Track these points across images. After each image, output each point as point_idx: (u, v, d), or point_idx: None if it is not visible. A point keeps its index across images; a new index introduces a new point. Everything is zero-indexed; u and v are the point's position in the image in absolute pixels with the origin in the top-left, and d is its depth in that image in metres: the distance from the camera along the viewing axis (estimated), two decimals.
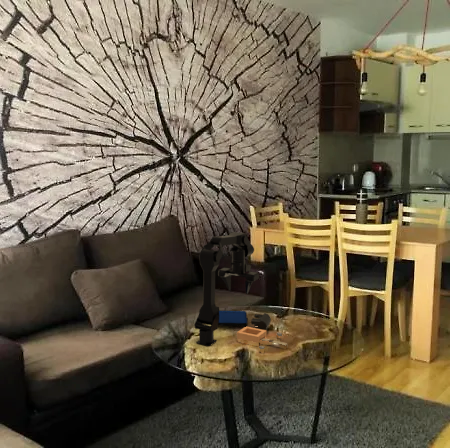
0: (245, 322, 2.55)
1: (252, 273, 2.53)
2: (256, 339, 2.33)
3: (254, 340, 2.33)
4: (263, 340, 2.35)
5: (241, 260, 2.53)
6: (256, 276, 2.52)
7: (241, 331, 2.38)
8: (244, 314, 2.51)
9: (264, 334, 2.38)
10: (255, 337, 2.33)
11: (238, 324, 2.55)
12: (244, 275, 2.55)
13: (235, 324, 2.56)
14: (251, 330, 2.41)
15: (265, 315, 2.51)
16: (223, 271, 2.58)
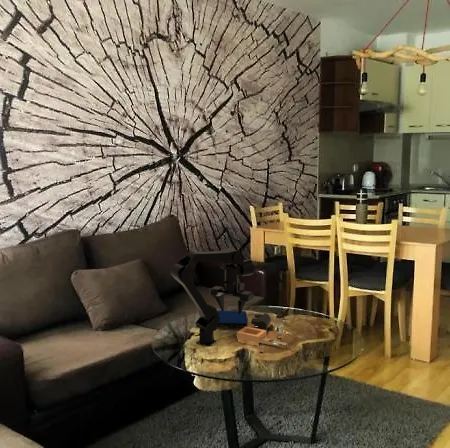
0: (245, 322, 2.54)
1: (246, 293, 2.36)
2: (256, 339, 2.33)
3: (254, 340, 2.33)
4: (263, 340, 2.35)
5: (234, 279, 2.37)
6: (250, 296, 2.36)
7: (241, 331, 2.38)
8: (244, 314, 2.51)
9: (264, 334, 2.38)
10: (255, 337, 2.33)
11: (238, 324, 2.55)
12: (237, 295, 2.38)
13: (235, 324, 2.55)
14: (251, 330, 2.41)
15: (265, 315, 2.51)
16: (215, 290, 2.41)
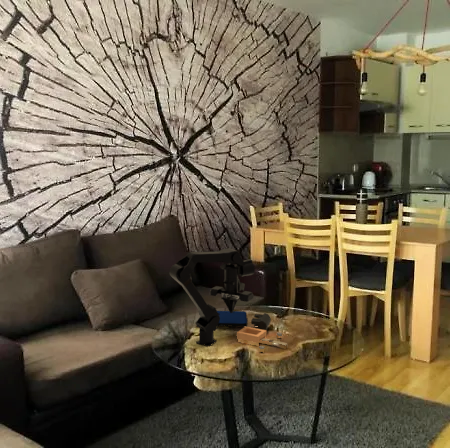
0: (245, 322, 2.54)
1: (246, 293, 2.36)
2: (256, 339, 2.33)
3: (254, 340, 2.33)
4: (263, 340, 2.35)
5: (234, 279, 2.36)
6: (250, 296, 2.35)
7: (241, 331, 2.38)
8: (244, 314, 2.50)
9: (264, 334, 2.38)
10: (255, 337, 2.33)
11: (238, 324, 2.55)
12: None
13: (235, 324, 2.55)
14: (251, 330, 2.41)
15: (265, 315, 2.51)
16: (215, 290, 2.41)
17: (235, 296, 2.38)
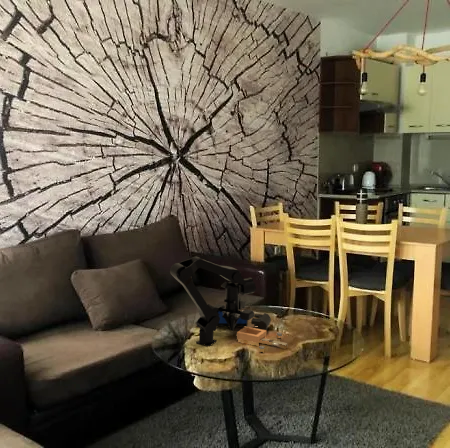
0: (245, 322, 2.54)
1: (247, 311, 2.37)
2: (256, 339, 2.33)
3: (254, 340, 2.33)
4: (263, 340, 2.35)
5: (235, 297, 2.38)
6: (251, 314, 2.37)
7: (241, 331, 2.38)
8: None
9: (264, 334, 2.38)
10: (255, 337, 2.33)
11: (238, 324, 2.55)
12: (238, 313, 2.39)
13: None
14: (251, 330, 2.41)
15: (265, 315, 2.51)
16: (216, 308, 2.42)
17: (236, 314, 2.39)
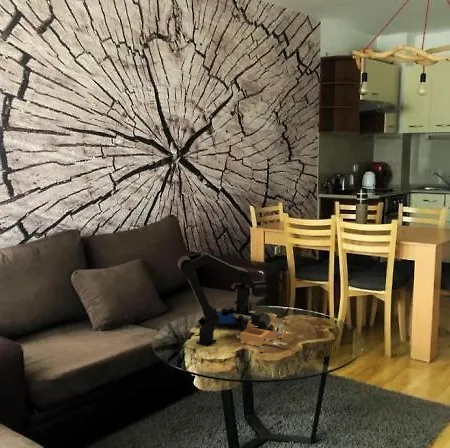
0: None
1: (258, 313, 2.35)
2: (259, 339, 2.32)
3: (257, 340, 2.32)
4: (263, 340, 2.35)
5: (246, 299, 2.35)
6: (262, 316, 2.34)
7: (244, 331, 2.37)
8: None
9: (267, 334, 2.37)
10: (258, 337, 2.32)
11: None
12: None
13: (235, 325, 2.55)
14: (254, 330, 2.40)
15: (265, 315, 2.51)
16: (226, 310, 2.40)
17: (246, 316, 2.37)
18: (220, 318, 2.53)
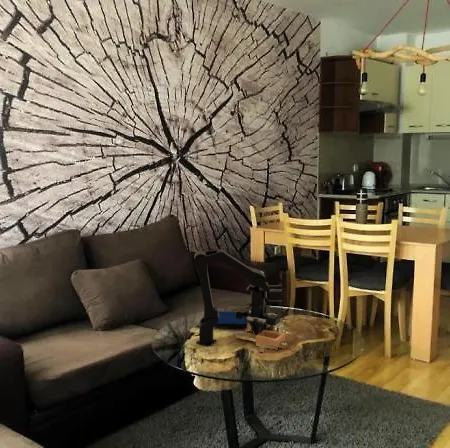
0: (245, 323, 2.53)
1: (273, 316, 2.31)
2: (275, 343, 2.28)
3: (273, 344, 2.29)
4: None
5: (261, 302, 2.32)
6: (277, 320, 2.31)
7: (259, 335, 2.34)
8: None
9: (283, 338, 2.33)
10: (274, 341, 2.28)
11: (238, 325, 2.54)
12: (264, 318, 2.33)
13: (235, 325, 2.54)
14: (269, 334, 2.37)
15: (265, 315, 2.51)
16: (241, 313, 2.36)
17: (261, 319, 2.33)
18: (220, 318, 2.52)
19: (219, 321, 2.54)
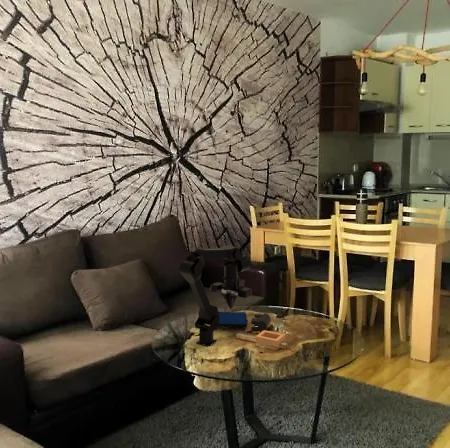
0: (245, 323, 2.53)
1: (245, 289, 2.41)
2: (275, 343, 2.28)
3: (273, 344, 2.29)
4: None
5: (233, 275, 2.41)
6: (249, 292, 2.40)
7: (259, 335, 2.34)
8: (244, 315, 2.49)
9: (283, 338, 2.33)
10: (274, 341, 2.28)
11: (238, 325, 2.54)
12: None
13: (235, 325, 2.54)
14: (269, 334, 2.37)
15: (265, 315, 2.51)
16: (215, 286, 2.46)
17: (234, 292, 2.43)
18: (220, 319, 2.52)
19: (219, 321, 2.53)
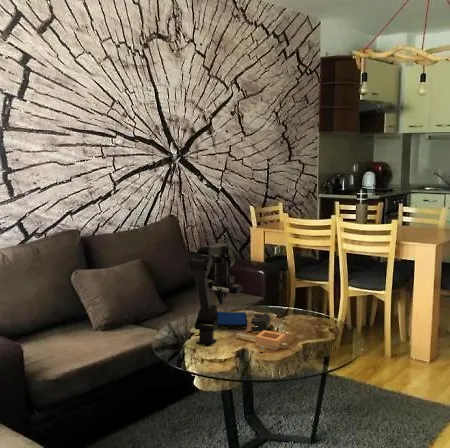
0: (245, 324, 2.53)
1: (235, 285, 2.46)
2: (275, 343, 2.28)
3: (273, 344, 2.29)
4: None
5: (224, 272, 2.47)
6: (239, 288, 2.46)
7: (259, 335, 2.34)
8: (244, 316, 2.49)
9: (283, 338, 2.33)
10: (274, 341, 2.28)
11: (238, 326, 2.54)
12: (227, 287, 2.48)
13: (235, 326, 2.54)
14: (269, 334, 2.37)
15: (265, 315, 2.51)
16: None
17: (225, 289, 2.48)
18: (220, 319, 2.51)
19: (219, 322, 2.53)
